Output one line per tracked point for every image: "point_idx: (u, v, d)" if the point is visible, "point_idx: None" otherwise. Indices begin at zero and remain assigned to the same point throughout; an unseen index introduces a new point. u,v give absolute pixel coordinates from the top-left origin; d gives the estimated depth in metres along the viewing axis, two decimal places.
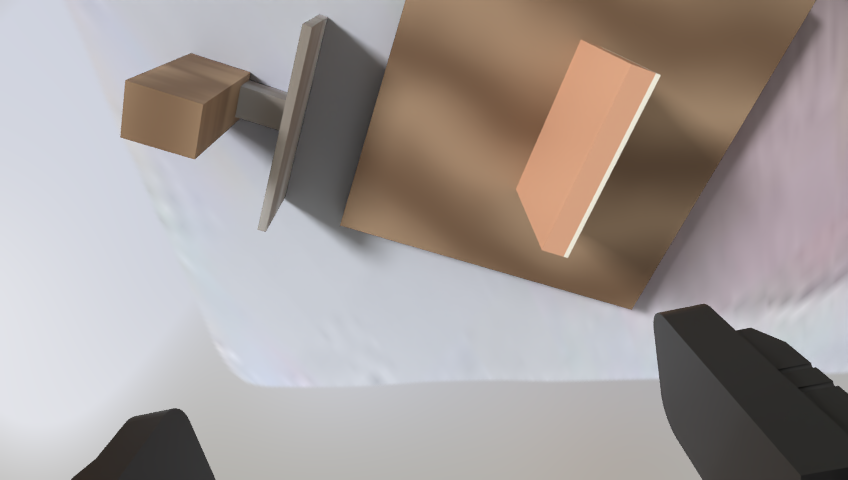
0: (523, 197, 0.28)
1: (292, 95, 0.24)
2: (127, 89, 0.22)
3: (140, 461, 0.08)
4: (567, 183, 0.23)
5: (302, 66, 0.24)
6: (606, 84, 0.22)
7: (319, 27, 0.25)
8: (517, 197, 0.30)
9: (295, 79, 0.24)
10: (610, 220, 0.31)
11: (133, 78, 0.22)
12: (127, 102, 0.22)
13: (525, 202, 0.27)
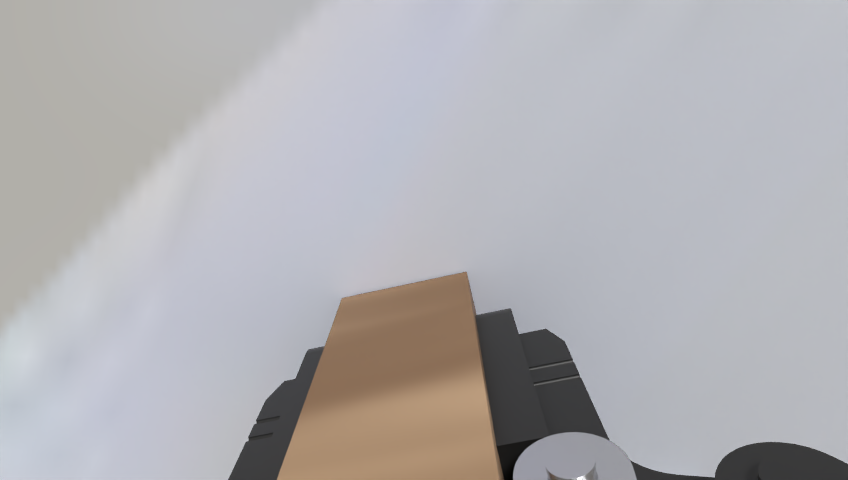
0: None
1: None
2: None
3: None
4: None
5: None
6: None
7: None
8: None
9: None
10: None
11: None
12: None
13: None
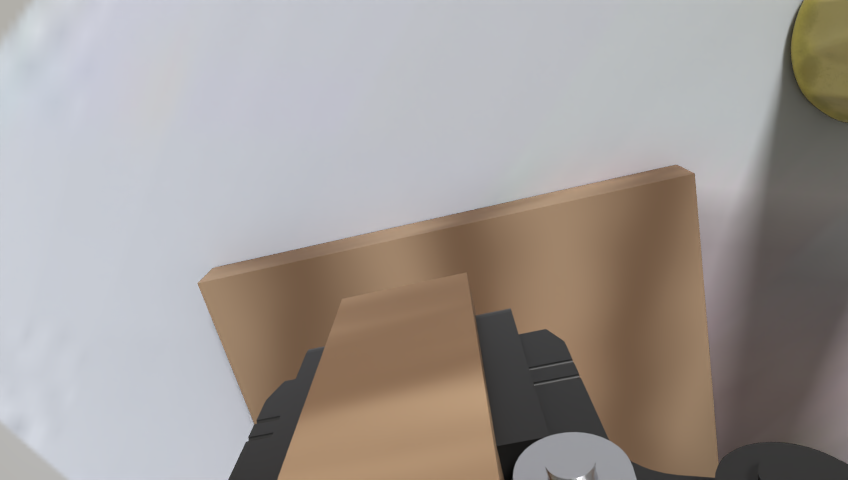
0: None
1: None
2: None
3: None
4: None
5: None
6: None
7: None
8: None
9: None
10: None
11: None
12: None
13: None
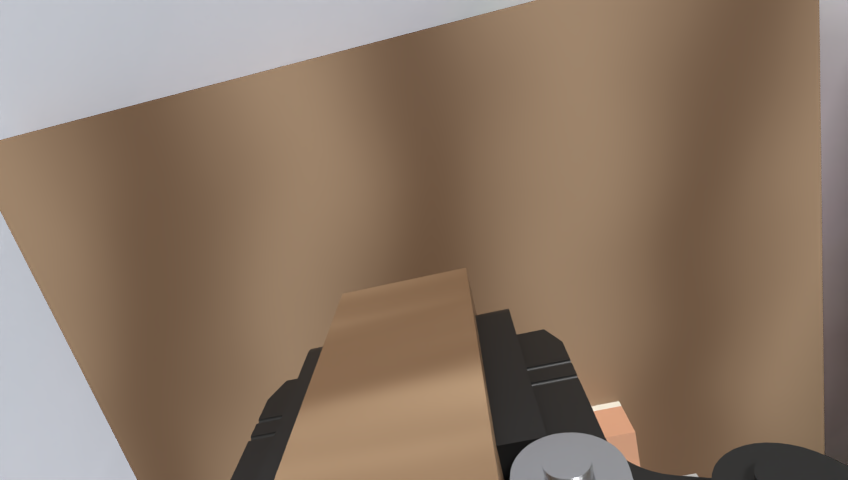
0: None
1: None
2: None
3: None
4: None
5: None
6: None
7: None
8: None
9: None
10: None
11: None
12: None
13: None
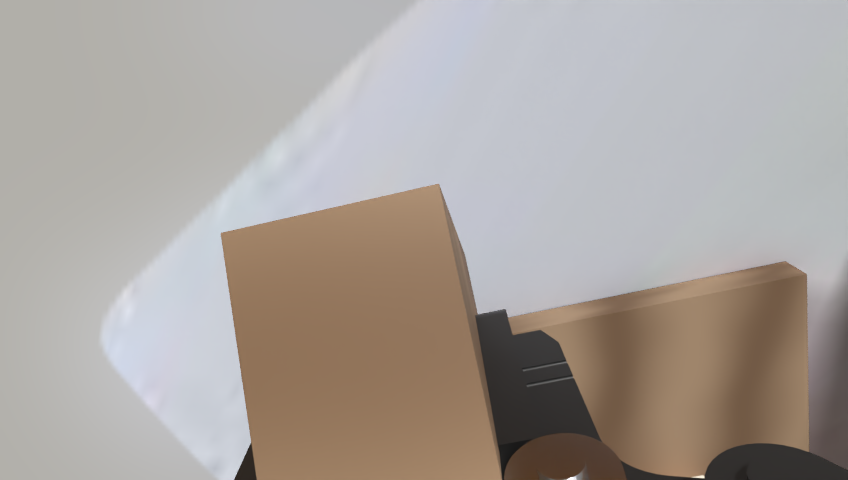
0: None
1: None
2: (409, 200, 0.06)
3: None
4: None
5: None
6: None
7: None
8: None
9: None
10: None
11: (443, 201, 0.06)
12: (362, 215, 0.06)
13: None
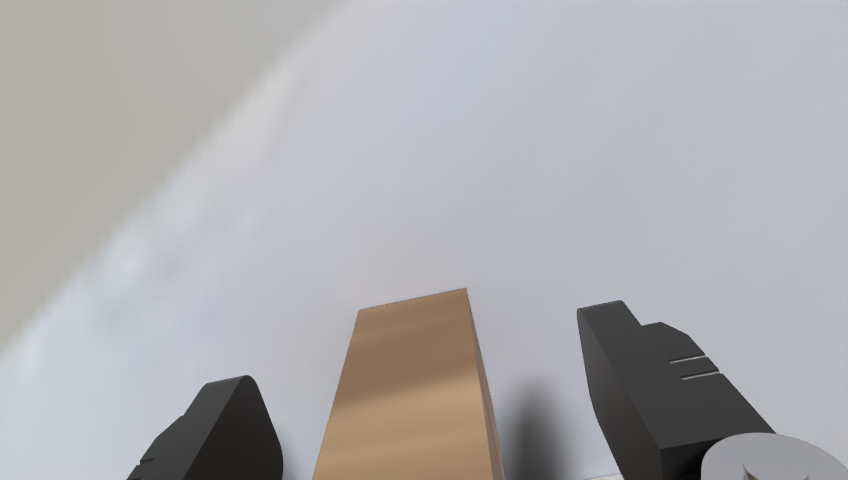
0: None
1: None
2: None
3: (223, 421, 0.09)
4: None
5: None
6: None
7: None
8: None
9: None
10: None
11: None
12: None
13: None
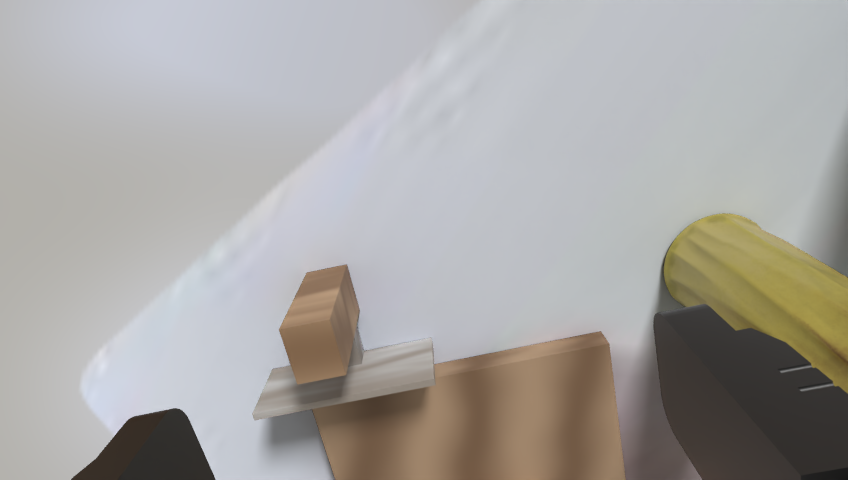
0: None
1: (379, 393, 0.30)
2: (323, 322, 0.25)
3: (140, 461, 0.08)
4: None
5: (404, 390, 0.30)
6: None
7: None
8: None
9: (392, 390, 0.30)
10: None
11: (331, 316, 0.26)
12: (312, 326, 0.25)
13: None
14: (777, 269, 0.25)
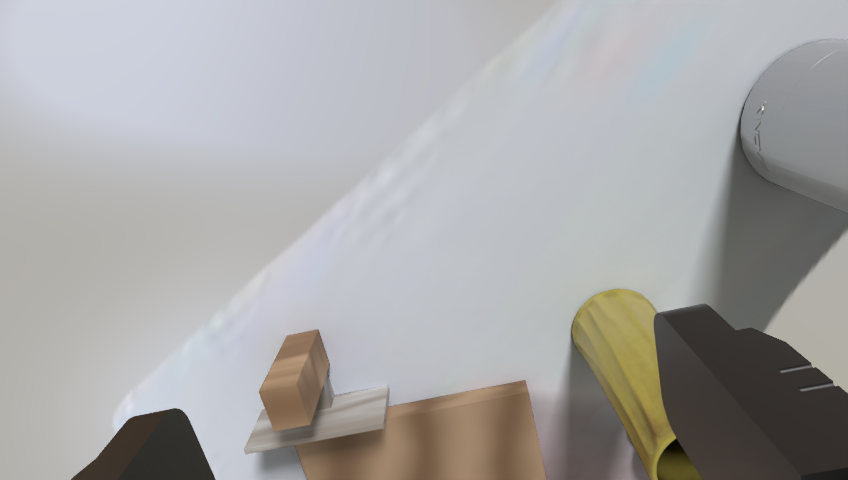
0: None
1: (341, 434, 0.38)
2: (291, 386, 0.34)
3: (140, 461, 0.08)
4: None
5: (360, 431, 0.38)
6: None
7: None
8: None
9: (351, 432, 0.38)
10: None
11: (298, 380, 0.34)
12: (283, 389, 0.34)
13: None
14: (634, 347, 0.33)
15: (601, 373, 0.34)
